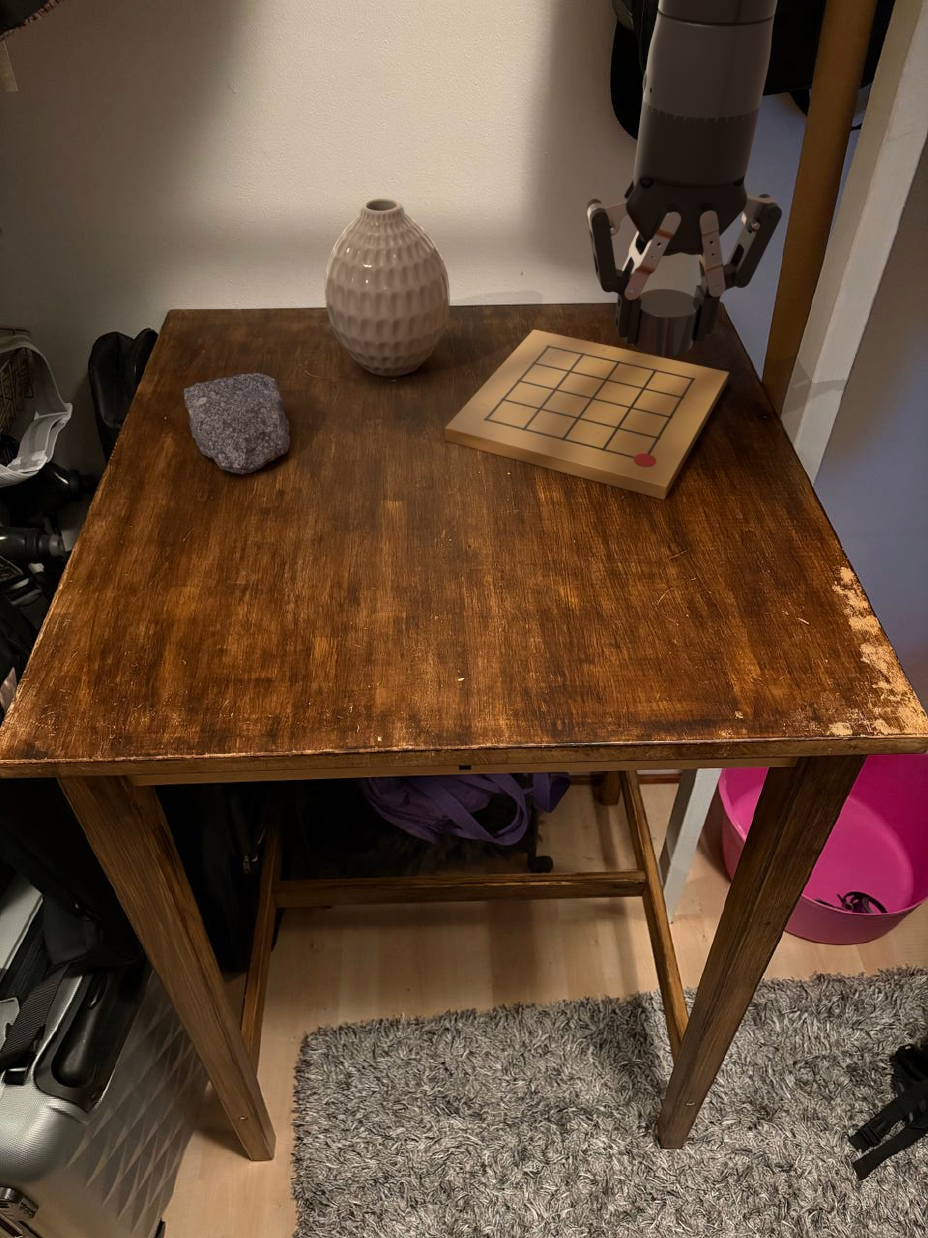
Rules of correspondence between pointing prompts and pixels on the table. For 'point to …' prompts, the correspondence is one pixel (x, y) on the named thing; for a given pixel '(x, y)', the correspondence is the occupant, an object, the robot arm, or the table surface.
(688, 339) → the dark grey puck
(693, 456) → the table surface
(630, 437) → the board
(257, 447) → the rock
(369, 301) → the vase
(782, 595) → the table surface
